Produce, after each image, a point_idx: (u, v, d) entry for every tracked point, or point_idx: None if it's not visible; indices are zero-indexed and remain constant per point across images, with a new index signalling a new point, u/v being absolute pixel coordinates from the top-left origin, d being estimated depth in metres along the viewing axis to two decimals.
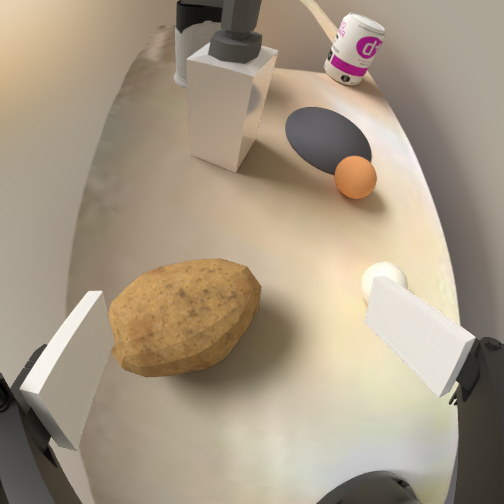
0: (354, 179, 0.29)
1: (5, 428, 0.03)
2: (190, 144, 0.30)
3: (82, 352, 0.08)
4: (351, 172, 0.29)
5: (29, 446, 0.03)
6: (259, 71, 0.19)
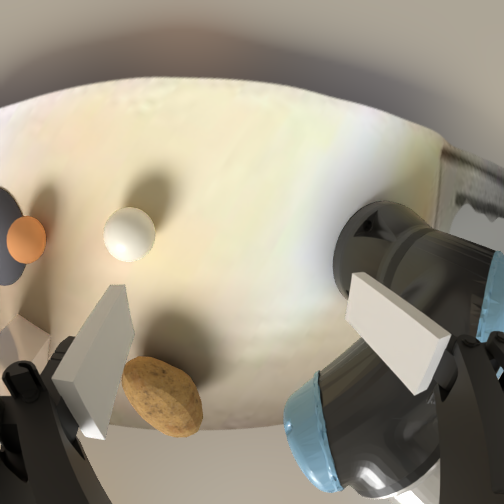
0: (29, 256, 0.22)
1: (35, 419, 0.04)
2: (42, 370, 0.28)
3: (109, 343, 0.08)
4: (24, 259, 0.22)
5: (60, 438, 0.04)
6: None
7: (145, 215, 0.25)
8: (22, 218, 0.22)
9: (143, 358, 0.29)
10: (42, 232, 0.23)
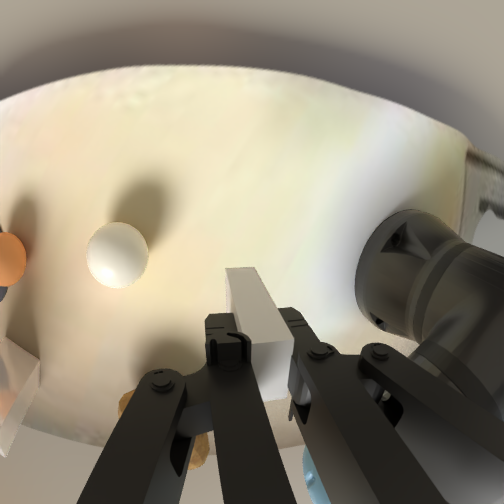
0: (8, 279, 0.17)
1: (234, 388, 0.06)
2: (34, 395, 0.24)
3: None
4: (2, 283, 0.17)
5: (264, 409, 0.05)
6: None
7: (135, 233, 0.20)
8: None
9: None
10: (21, 251, 0.19)
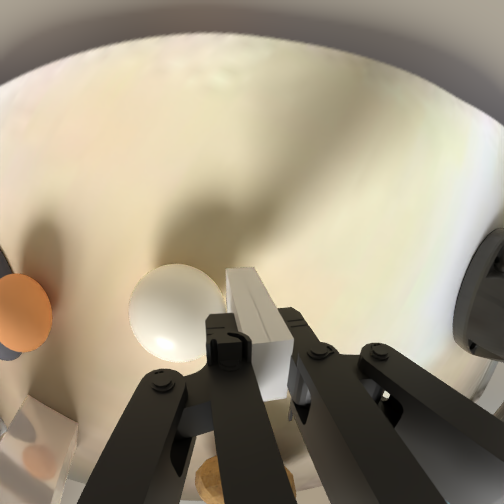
0: (28, 346, 0.12)
1: (234, 388, 0.06)
2: (72, 458, 0.18)
3: None
4: (21, 350, 0.12)
5: (264, 409, 0.05)
6: None
7: (200, 288, 0.13)
8: (6, 280, 0.12)
9: None
10: (43, 303, 0.13)
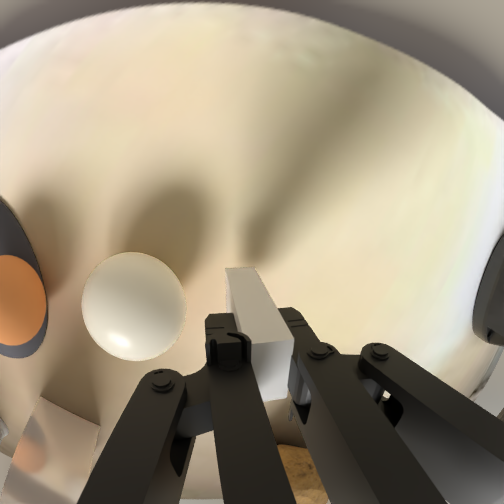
0: None
1: (234, 388, 0.06)
2: None
3: None
4: None
5: (264, 409, 0.05)
6: None
7: (86, 282, 0.11)
8: None
9: None
10: None
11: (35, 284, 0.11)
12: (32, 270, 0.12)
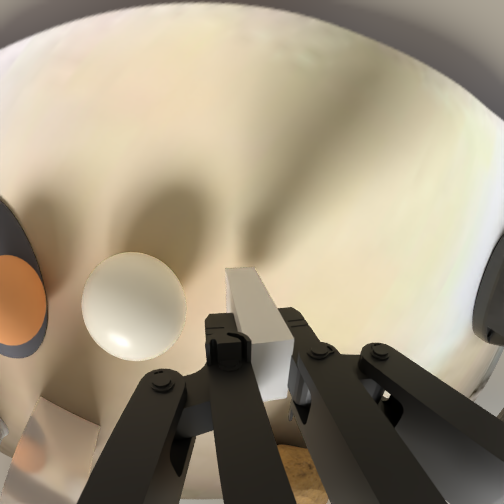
0: None
1: (234, 388, 0.06)
2: None
3: None
4: None
5: (264, 409, 0.05)
6: None
7: (86, 282, 0.11)
8: None
9: None
10: None
11: (35, 284, 0.11)
12: (32, 270, 0.12)
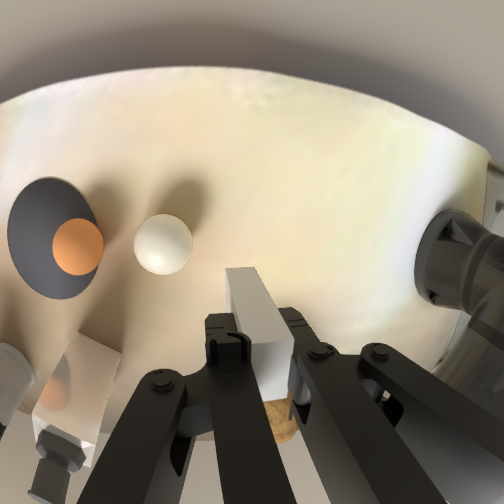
0: (63, 269, 0.21)
1: (234, 388, 0.06)
2: None
3: None
4: (63, 269, 0.21)
5: (264, 409, 0.05)
6: (81, 437, 0.15)
7: (139, 228, 0.22)
8: (67, 221, 0.21)
9: None
10: (76, 246, 0.20)
11: (100, 235, 0.23)
12: None
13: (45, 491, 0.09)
